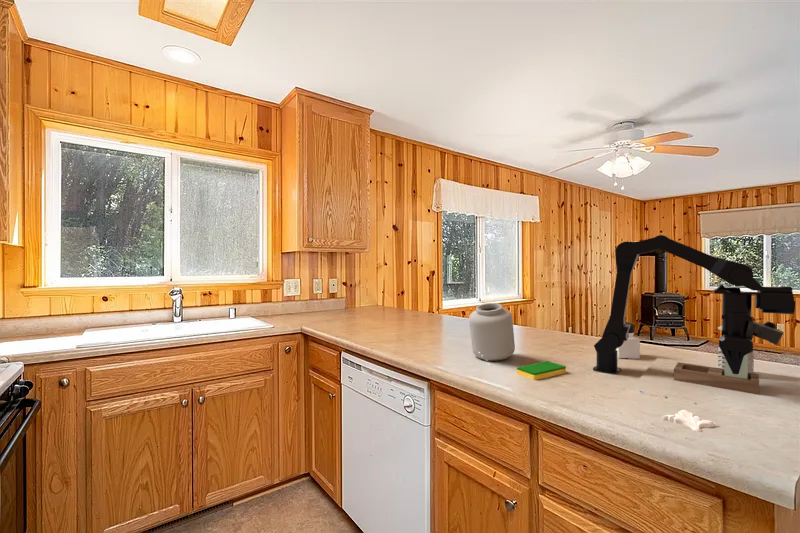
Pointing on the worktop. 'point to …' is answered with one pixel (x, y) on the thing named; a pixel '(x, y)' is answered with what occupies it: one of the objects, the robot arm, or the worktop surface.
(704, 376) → the pocket holder
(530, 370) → the dish sponge
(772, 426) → the worktop surface
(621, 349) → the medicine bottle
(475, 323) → the jar
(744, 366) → the green block
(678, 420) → the acanthus leaf ornament
